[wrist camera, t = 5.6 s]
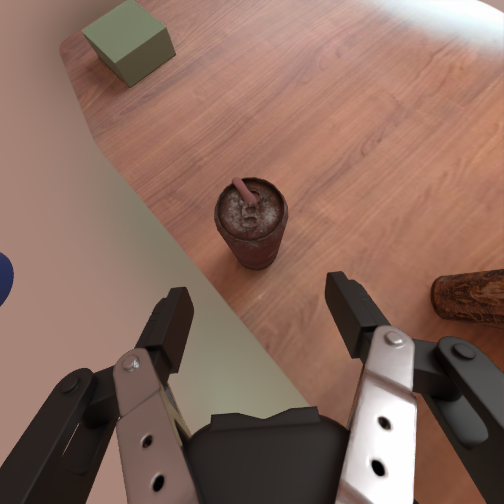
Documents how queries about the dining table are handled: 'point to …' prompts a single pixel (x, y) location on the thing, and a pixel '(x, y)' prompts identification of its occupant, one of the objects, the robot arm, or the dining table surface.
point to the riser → (130, 41)
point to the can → (252, 220)
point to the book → (471, 297)
